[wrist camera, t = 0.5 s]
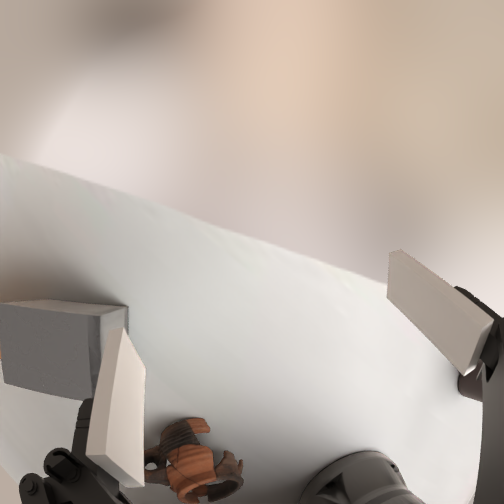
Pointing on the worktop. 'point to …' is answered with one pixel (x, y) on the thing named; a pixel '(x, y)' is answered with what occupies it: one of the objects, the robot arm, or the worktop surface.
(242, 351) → the worktop surface
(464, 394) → the bottle
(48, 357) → the sleeve
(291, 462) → the worktop surface
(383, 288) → the worktop surface
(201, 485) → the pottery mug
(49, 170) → the worktop surface
